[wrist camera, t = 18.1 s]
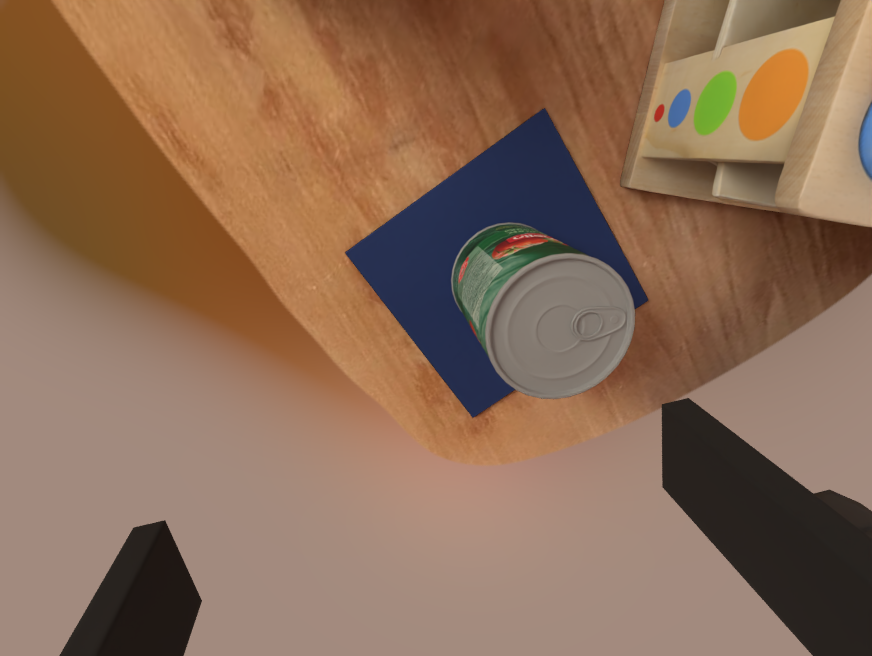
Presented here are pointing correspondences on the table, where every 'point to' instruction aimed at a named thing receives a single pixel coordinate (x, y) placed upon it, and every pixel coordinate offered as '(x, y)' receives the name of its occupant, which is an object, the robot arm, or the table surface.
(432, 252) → the cloth
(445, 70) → the table surface
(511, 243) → the canned tomato
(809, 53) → the pounding bench toy
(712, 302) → the table surface
